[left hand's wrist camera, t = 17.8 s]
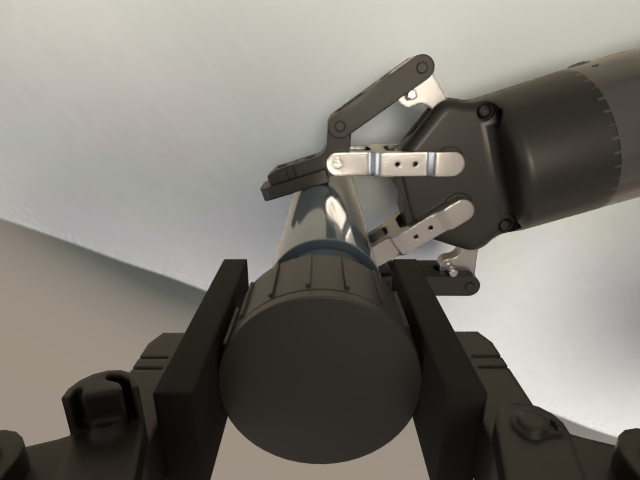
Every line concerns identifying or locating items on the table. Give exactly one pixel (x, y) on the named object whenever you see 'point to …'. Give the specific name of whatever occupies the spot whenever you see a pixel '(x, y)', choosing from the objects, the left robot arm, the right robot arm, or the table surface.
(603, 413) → the table surface
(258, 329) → the lid
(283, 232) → the bottle
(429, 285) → the left robot arm
